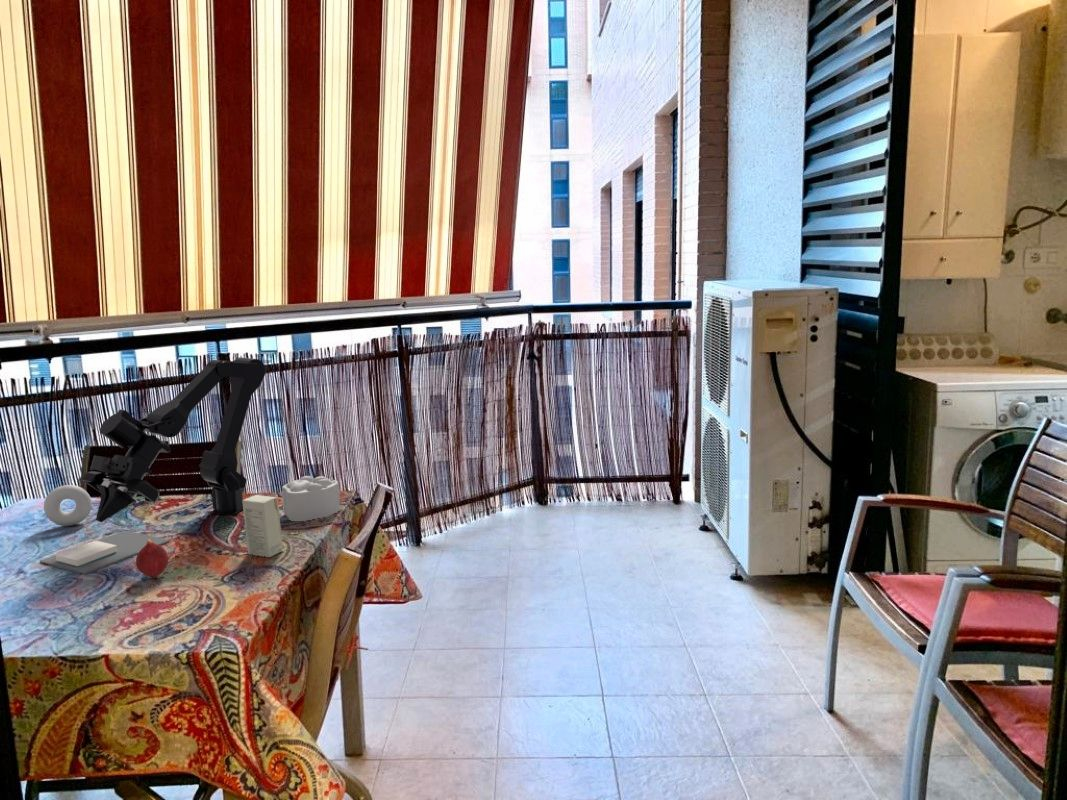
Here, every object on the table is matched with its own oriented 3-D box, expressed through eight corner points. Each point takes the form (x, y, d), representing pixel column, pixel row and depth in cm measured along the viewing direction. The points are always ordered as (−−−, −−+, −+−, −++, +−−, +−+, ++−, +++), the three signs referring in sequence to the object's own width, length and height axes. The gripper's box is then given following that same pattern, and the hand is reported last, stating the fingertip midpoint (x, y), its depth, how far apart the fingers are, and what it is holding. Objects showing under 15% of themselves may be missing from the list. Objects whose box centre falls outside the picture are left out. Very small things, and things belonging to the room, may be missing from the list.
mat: (125, 532, 185) (125, 530, 184) (169, 541, 178) (169, 540, 178) (39, 562, 167) (39, 560, 167) (85, 574, 160) (84, 572, 160)
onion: (176, 573, 160) (172, 536, 158) (154, 585, 155) (150, 546, 153) (153, 570, 162) (149, 533, 160) (131, 581, 157) (126, 543, 155)
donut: (94, 519, 194) (89, 480, 192) (94, 524, 190) (89, 484, 189) (47, 526, 189) (41, 486, 187) (45, 531, 186) (40, 490, 184)
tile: (95, 540, 174) (55, 554, 166) (116, 545, 171) (76, 560, 163) (96, 547, 174) (56, 561, 166) (117, 552, 171) (77, 567, 163)
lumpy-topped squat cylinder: (281, 512, 197) (279, 478, 195) (333, 503, 204) (331, 470, 202) (292, 524, 188) (289, 489, 187) (345, 514, 195) (343, 480, 193)
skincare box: (283, 551, 171) (279, 497, 169) (269, 558, 167) (264, 502, 165) (261, 547, 174) (256, 493, 171) (246, 554, 170) (241, 499, 168)
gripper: (85, 436, 176) (42, 497, 168) (141, 444, 168) (98, 509, 160) (121, 461, 184) (81, 521, 177) (176, 470, 176) (137, 534, 168)
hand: (98, 521), depth 170 cm, fingers closed
